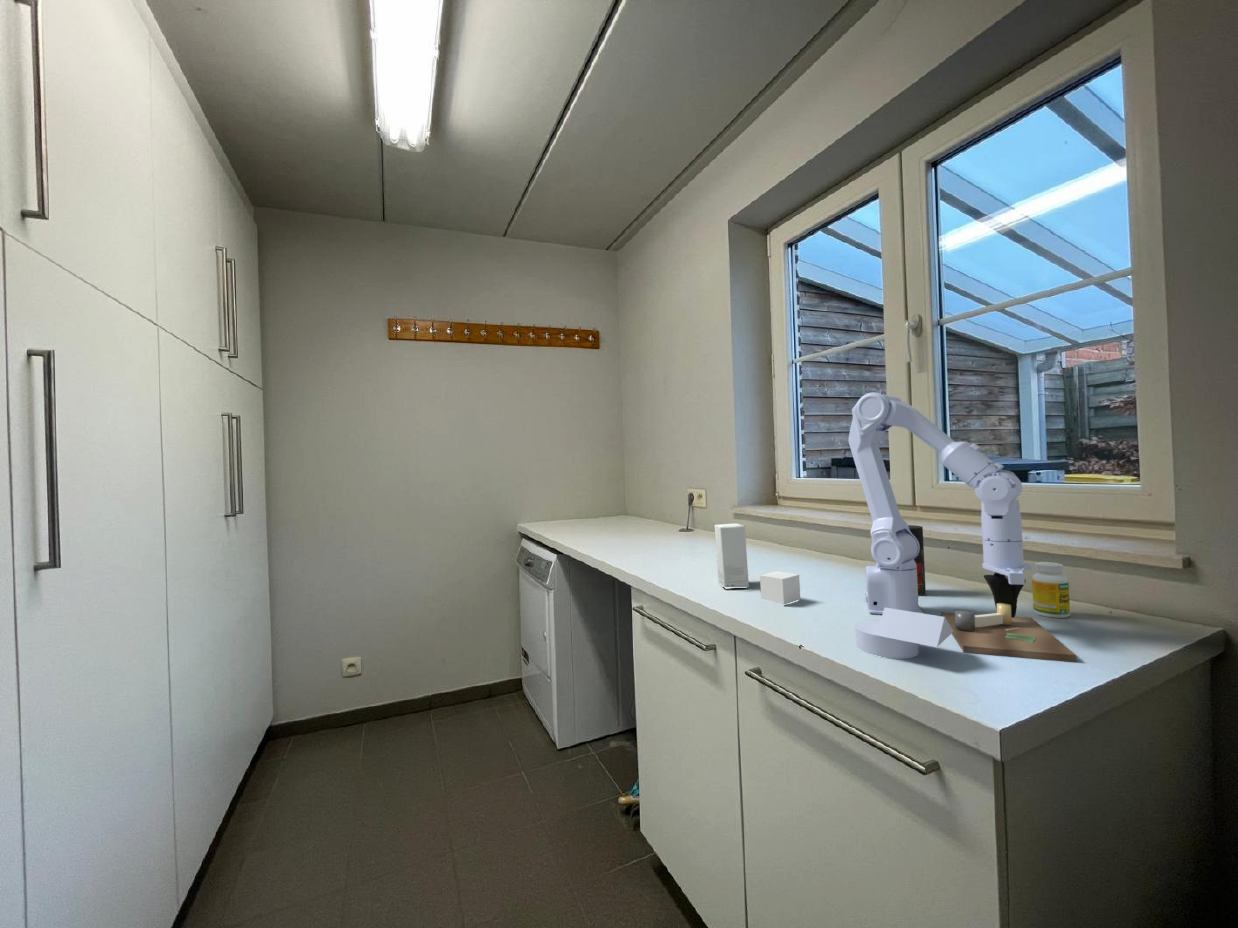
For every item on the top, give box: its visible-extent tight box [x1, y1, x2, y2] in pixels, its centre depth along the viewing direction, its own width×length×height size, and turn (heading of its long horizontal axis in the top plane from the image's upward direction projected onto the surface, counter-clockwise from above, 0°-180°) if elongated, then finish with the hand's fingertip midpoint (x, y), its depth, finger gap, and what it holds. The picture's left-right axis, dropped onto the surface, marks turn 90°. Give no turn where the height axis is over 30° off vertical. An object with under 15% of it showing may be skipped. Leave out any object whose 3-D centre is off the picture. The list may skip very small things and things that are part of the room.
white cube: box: [759, 570, 801, 605], centre depth 115 cm, size 6×6×6 cm
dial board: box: [940, 611, 1078, 663], centre depth 87 cm, size 14×19×1 cm
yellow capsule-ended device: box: [954, 603, 1012, 631], centre depth 89 cm, size 10×3×3 cm, turn 101°
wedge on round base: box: [855, 608, 954, 660], centre depth 82 cm, size 9×7×13 cm
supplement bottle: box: [1031, 561, 1071, 619], centre depth 97 cm, size 5×5×10 cm
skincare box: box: [714, 523, 750, 588], centre depth 131 cm, size 8×7×16 cm
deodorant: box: [908, 524, 927, 597], centre depth 117 cm, size 6×6×15 cm
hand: (1006, 616), depth 91 cm, fingers closed, pressing on yellow capsule-ended device
